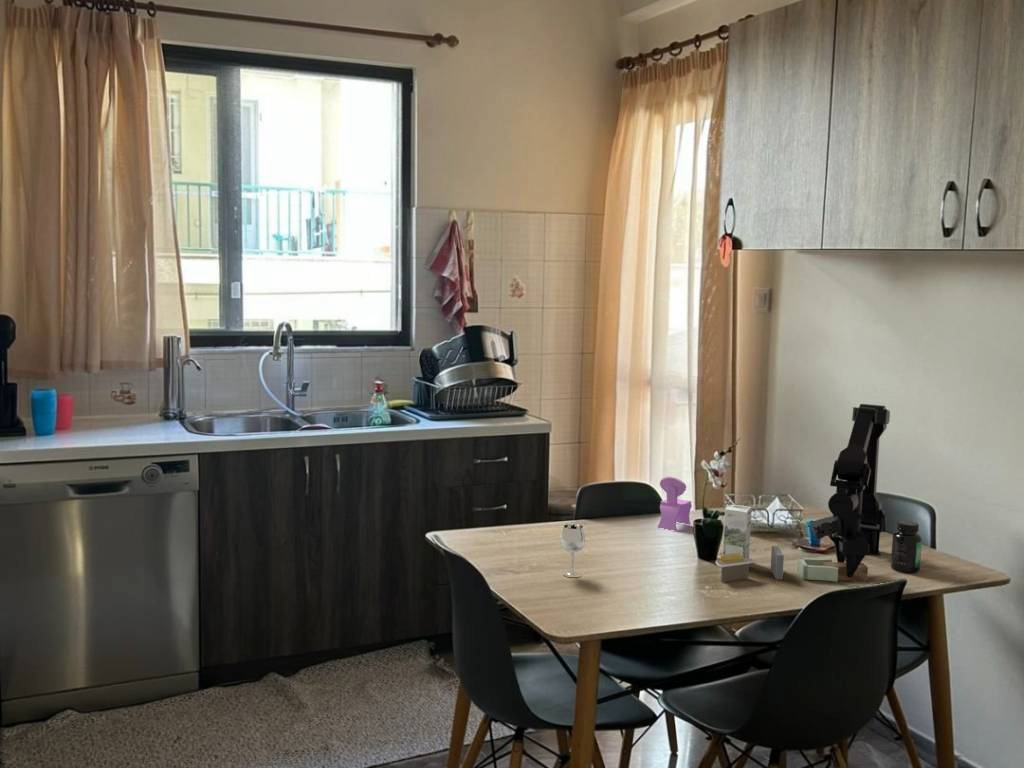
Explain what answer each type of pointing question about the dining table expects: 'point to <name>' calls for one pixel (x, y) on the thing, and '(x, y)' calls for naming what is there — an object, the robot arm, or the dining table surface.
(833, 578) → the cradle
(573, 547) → the wineglass
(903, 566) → the supplement bottle
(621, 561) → the dining table surface
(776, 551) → the wall
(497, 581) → the dining table surface
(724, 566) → the platform
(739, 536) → the syrup box
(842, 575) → the brown rectangular block
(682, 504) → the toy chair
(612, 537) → the dining table surface
